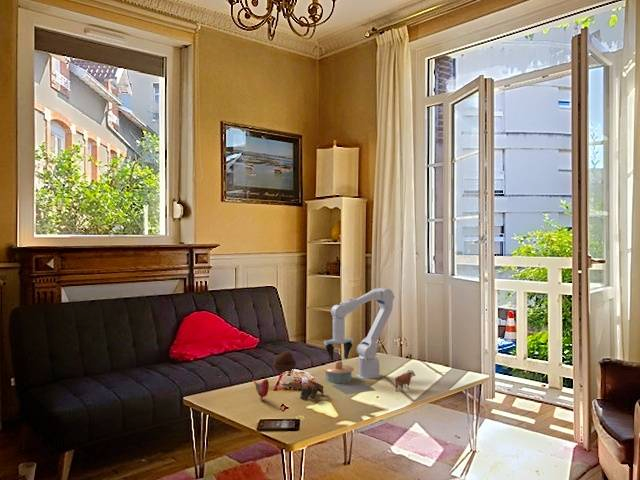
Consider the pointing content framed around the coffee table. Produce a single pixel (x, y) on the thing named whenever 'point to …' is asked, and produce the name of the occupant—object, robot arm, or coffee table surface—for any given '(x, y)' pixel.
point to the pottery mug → (311, 393)
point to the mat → (353, 387)
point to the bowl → (338, 377)
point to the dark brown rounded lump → (284, 362)
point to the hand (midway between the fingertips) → (338, 359)
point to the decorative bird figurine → (262, 388)
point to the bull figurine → (404, 379)
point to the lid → (338, 368)
